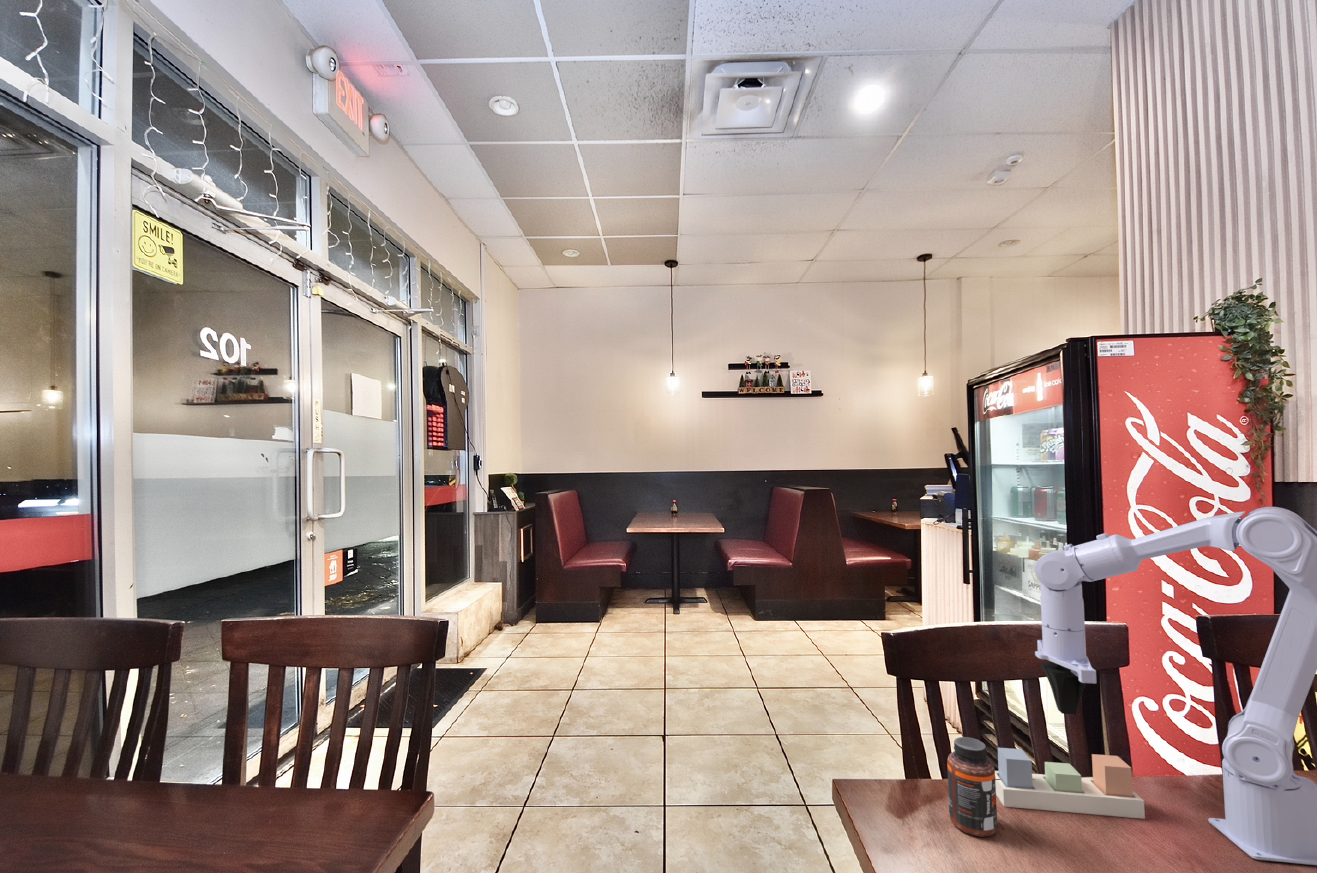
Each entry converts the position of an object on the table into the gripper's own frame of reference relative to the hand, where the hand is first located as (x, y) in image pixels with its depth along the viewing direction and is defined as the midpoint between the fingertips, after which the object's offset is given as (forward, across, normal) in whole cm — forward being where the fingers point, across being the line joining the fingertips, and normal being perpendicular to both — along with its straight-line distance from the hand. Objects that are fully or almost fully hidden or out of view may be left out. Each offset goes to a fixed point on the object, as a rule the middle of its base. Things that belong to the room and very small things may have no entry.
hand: (1067, 712), depth 92 cm
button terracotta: (+8, +7, +3) cm, 11 cm away
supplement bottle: (+11, +15, -19) cm, 26 cm away
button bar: (+10, +7, -4) cm, 13 cm away
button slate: (+8, +7, -10) cm, 15 cm away
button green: (+10, +7, -4) cm, 13 cm away
